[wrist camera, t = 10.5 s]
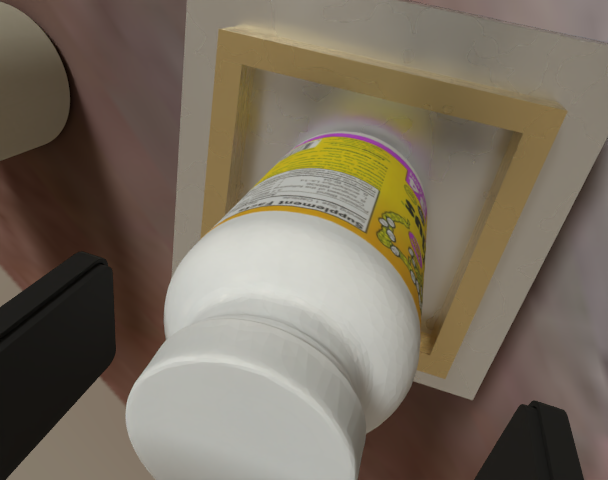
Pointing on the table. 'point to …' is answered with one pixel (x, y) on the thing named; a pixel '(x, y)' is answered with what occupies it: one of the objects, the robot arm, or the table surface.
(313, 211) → the supplement bottle
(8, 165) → the table surface
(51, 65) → the travel mug
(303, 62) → the white gold-rimmed box
